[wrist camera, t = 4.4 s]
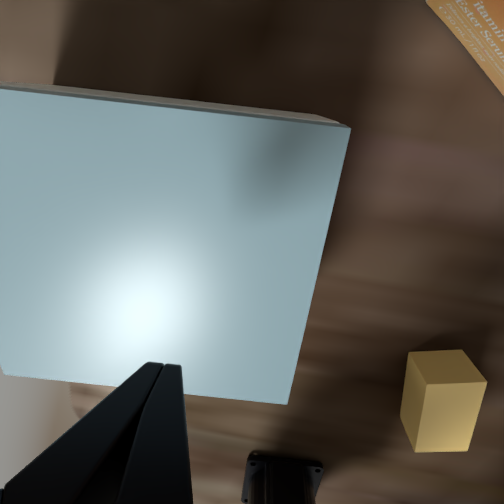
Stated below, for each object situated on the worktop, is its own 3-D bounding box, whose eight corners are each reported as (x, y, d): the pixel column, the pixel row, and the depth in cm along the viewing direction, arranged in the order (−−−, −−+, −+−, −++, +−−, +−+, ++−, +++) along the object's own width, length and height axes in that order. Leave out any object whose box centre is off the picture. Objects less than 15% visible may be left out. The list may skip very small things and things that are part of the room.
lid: (285, 386, 16) (287, 404, 15) (18, 357, 16) (3, 374, 15) (344, 123, 10) (351, 128, 9) (-77, 76, 10) (-111, 76, 9)
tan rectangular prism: (445, 412, 25) (467, 450, 22) (398, 414, 25) (414, 452, 22) (460, 347, 22) (487, 381, 19) (407, 349, 22) (426, 384, 20)
